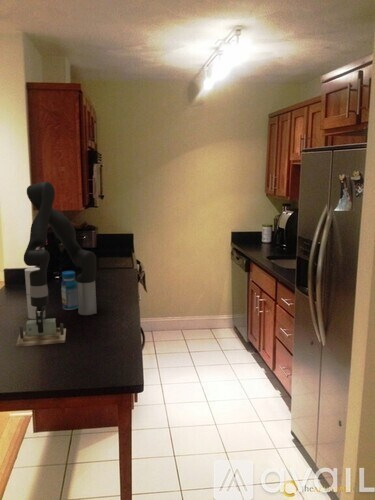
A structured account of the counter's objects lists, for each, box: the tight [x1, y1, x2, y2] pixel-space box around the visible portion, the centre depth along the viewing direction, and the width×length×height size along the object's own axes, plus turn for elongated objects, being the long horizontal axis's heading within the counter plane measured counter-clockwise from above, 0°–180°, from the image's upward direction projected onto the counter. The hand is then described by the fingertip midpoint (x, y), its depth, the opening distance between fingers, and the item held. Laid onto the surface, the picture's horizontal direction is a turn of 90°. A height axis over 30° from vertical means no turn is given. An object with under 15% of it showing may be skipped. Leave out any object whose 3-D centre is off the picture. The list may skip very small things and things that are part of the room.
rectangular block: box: [25, 317, 57, 337], centre depth 195 cm, size 12×6×7 cm, turn 103°
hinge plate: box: [15, 322, 67, 348], centre depth 196 cm, size 20×14×6 cm
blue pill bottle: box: [60, 270, 78, 311], centre depth 236 cm, size 8×8×20 cm
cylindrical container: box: [24, 266, 41, 320], centre depth 222 cm, size 7×7×25 cm
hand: (41, 329), depth 195 cm, fingers open, 8 cm apart
